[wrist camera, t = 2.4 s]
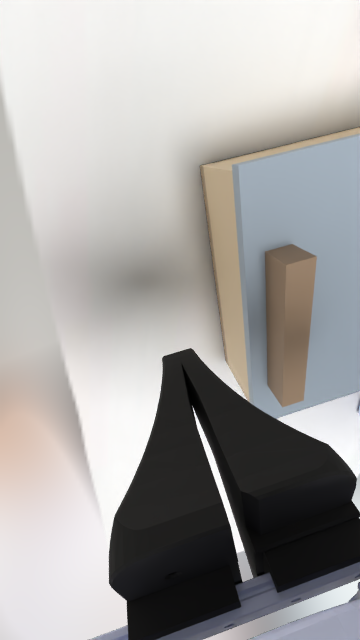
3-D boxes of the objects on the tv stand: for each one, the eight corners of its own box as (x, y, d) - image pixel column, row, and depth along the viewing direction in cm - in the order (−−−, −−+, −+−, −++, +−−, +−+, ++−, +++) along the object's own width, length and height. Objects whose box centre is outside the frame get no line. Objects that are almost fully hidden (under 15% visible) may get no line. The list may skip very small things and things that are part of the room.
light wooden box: (338, 326, 23) (389, 365, 19) (225, 361, 22) (252, 409, 18) (372, 124, 15) (471, 113, 11) (199, 165, 14) (237, 171, 10)
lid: (396, 370, 19) (428, 394, 17) (250, 417, 18) (266, 448, 16) (489, 101, 11) (569, 91, 9) (231, 164, 10) (260, 167, 8)
